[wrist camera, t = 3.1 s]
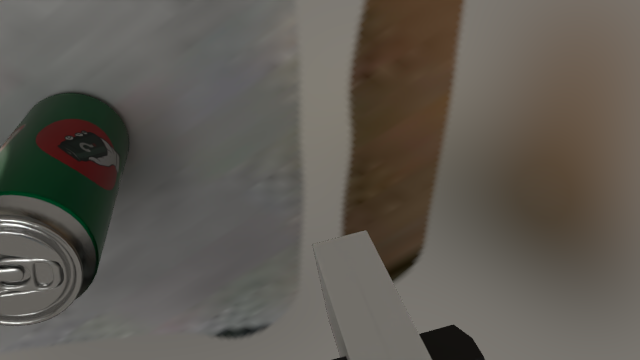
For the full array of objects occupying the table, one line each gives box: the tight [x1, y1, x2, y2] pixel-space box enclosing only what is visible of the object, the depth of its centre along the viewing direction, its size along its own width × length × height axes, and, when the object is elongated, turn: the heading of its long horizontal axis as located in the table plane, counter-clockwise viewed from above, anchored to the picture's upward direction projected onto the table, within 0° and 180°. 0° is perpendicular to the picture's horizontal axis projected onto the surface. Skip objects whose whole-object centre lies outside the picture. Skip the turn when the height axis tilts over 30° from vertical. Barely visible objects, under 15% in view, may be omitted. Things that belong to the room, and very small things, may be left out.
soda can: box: [0, 93, 129, 326], centre depth 23 cm, size 5×5×12 cm
